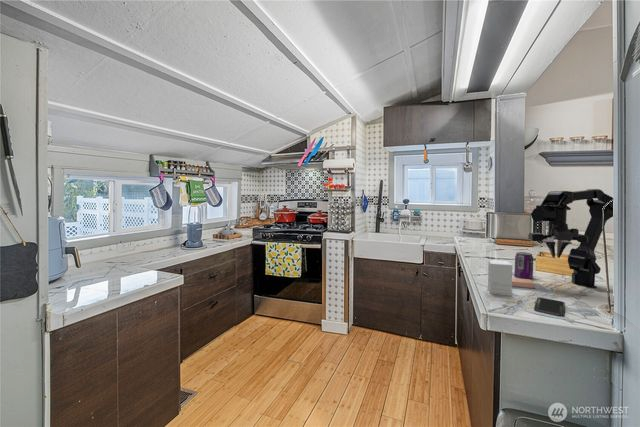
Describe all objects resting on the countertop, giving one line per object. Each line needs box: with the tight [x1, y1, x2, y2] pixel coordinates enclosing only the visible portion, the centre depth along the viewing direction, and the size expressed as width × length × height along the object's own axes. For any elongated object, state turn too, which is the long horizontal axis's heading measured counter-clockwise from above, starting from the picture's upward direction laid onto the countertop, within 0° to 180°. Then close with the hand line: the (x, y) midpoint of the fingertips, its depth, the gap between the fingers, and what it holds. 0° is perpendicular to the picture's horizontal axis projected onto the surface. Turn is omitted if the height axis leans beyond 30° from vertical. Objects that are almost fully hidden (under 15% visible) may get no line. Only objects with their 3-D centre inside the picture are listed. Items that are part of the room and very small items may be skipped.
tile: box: [512, 277, 536, 288], centre depth 121 cm, size 2×6×10 cm
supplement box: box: [487, 259, 513, 297], centre depth 113 cm, size 7×7×13 cm
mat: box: [512, 282, 551, 293], centre depth 120 cm, size 14×12×1 cm
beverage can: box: [513, 251, 534, 280], centre depth 134 cm, size 7×7×12 cm
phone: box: [533, 296, 566, 317], centre depth 98 cm, size 8×1×15 cm
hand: (556, 257), depth 119 cm, fingers closed
